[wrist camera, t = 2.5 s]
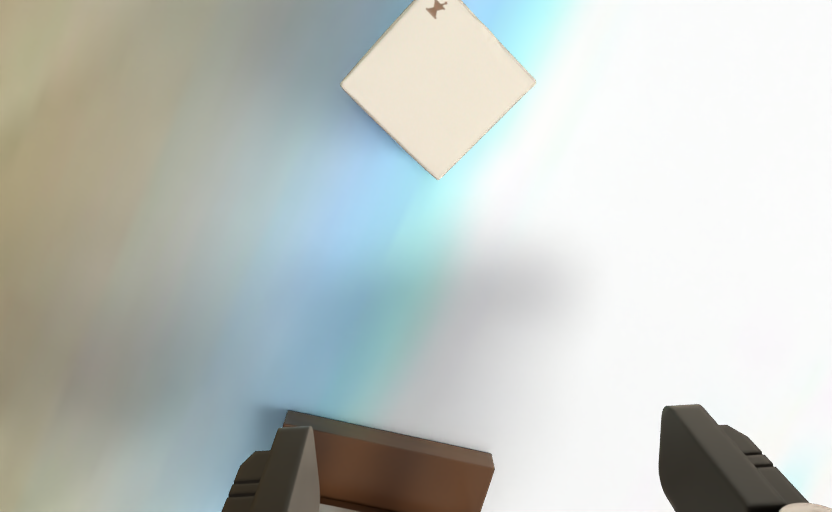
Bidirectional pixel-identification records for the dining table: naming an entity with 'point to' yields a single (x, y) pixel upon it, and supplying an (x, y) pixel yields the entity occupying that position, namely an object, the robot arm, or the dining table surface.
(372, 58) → the product box
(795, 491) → the robot arm
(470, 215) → the dining table surface
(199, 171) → the dining table surface
